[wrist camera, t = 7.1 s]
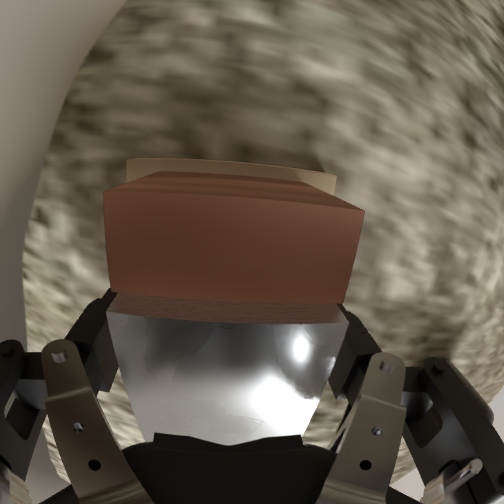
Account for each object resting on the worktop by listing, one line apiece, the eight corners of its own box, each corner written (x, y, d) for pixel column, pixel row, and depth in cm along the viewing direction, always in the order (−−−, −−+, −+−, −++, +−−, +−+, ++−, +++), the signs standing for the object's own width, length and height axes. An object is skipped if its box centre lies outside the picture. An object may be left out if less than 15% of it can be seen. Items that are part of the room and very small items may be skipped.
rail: (137, 157, 11) (52, 172, 5) (325, 172, 12) (414, 200, 6) (167, 438, 19) (161, 502, 13) (265, 441, 21) (275, 504, 14)
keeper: (160, 232, 11) (105, 311, 5) (292, 240, 12) (349, 322, 6) (166, 344, 13) (145, 442, 7) (273, 349, 14) (297, 446, 8)
